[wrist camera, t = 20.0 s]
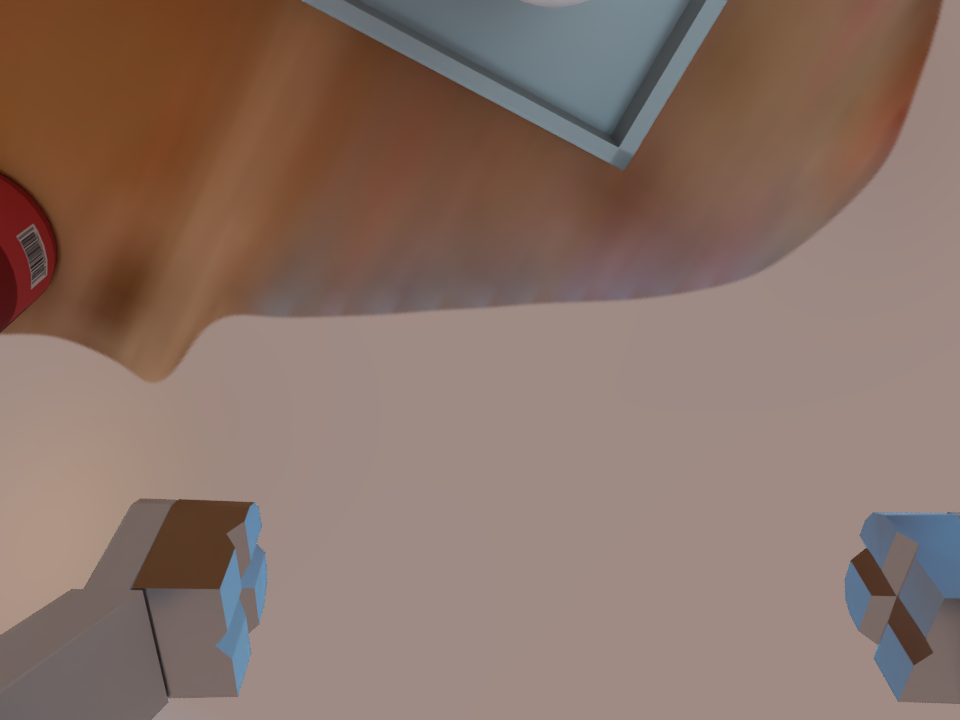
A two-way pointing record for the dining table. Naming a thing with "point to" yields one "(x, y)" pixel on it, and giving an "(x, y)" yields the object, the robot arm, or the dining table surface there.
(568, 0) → the supplement bottle
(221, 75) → the dining table surface
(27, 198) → the canned food
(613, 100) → the tray
